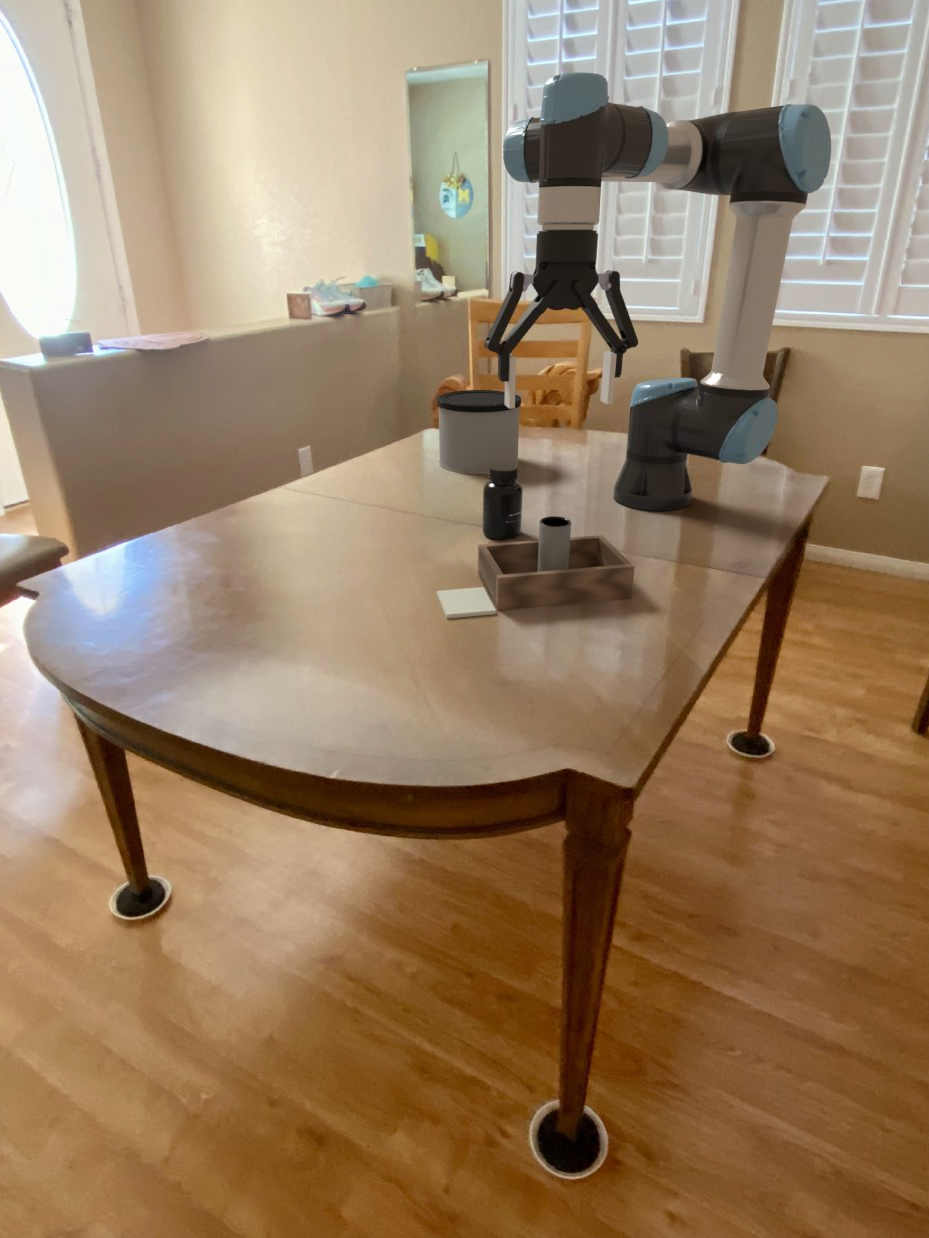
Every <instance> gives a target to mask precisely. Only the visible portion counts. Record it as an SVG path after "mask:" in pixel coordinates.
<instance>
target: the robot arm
mask: <svg viewBox="0 0 929 1238" xmlns="http://www.w3.org/2000/svg"><path fill="white" fill-rule="evenodd" d="M608 87H609V84H608V81H607V78H606V77H604V76H603V75H602V74H599V73H596V72H595V73H594V72H583V71H582V72H567V73H561V74H560V73H559V74H557V75H553V76H551V77H550V78H548V79H547V80H546V82H545V83H544V86H543V88H542V89H543V90H542V99H541V100H542V101H541V109H540V116H539V117H534V116H532V117H529V118H527V119H523V120H518V121H515V122H514V123H513V124H512V125H511V126H510V127H509V128H508V129H507V131H506V132H505V136H504V139H503V142H502V143H503V145H502V148H503V150H502V153H503V155H502V159H503V163H504V164H503V165H504V167H505V169H506V172H507V173H508V175H509V176H510V177H511V179H513V180H514V181H517V182H519V183H530V184H536V183H538V199H537V221H536V222H537V225H539V226H541V230H538V233H536V246H535V247H536V248H535V252H536V253H535V268H534V272H533V273H532V274H529V273H523V272H521V271H517V270H516V271H513V272H511V273H510V277H509V283H508V284H509V285H508V290H507V292H506V294H505V298H504V300H503V302H502V303H501V306H500V307H499V310H498V312H497V314H496V317H495V319H494V321H493V323H492V325H491V327H490V329H489V332H488V334H487V336H486V338H485V340H484V343H483V346H484V348H485V349H487V350H488V351H490V352H492V353H495V354H496V355H497V377H498V380H499V381H500V382H501V383H504V392H505V405H506V406H507V407H508V408H509V409H512V408H515V394H516V381H517V380H516V379H517V378H516V375H517V372H516V371H517V356H515V355H514V354H512V352H513V351H514V349H516V347H517V346H518V344H519V343H520V342H521V341H522V339H523V338H524V337H525V336H526V334H527V333H528V332H529V330H531V328H532V327H533V325H534V324H535V323H536V322H537V321H538V320H539V318H540V317H541V316H542V315H543V314H544V313H546V311H547V310H548V309H549V310H552V311H563V310H565V309H567V310H571V311H578V310H579V309H581V310H582V312H584V313H585V315H586V316H587V318H588V319H589V321H590V322H591V323H592V325H593V326H594V328H595V330H597V332H598V333H599V335H600V336H601V337H602V339H603V341H604V342H605V344H606V345H607V346H608V348H609V349H610V350H609V351H608V350H607V351H606V350H604V351H603V361H602V362H603V363H602V374H601V375H602V376H601V386H600V402H602V403H604V404H605V405H609V406H610V405H613V402H614V392H615V391H614V389H615V379H616V378H620V377H621V376H622V371H623V369H622V368H623V356H624V354H626V353H627V351H628V350H629V349H631V348H636V347H637V346H638V345H639V340H638V336H637V333H636V331H635V327H634V325H633V322H632V319H631V316H630V314H629V311H628V308H627V305H626V302H625V300H624V299H625V298H624V297H623V294H622V291H621V274H620V272H619V271H617V270H609V269H608V270H606V271H605V272H601V273H598V272H597V268H596V264H597V258H598V255H597V254H598V244H599V243H598V241H599V233H597V230H594V229H595V226H596V225H599V223H600V217H601V215H600V214H601V213H600V212H601V194H602V193H601V192H602V182H609V183H610V182H615V183H616V182H617V183H618V182H619V183H621V182H623V183H626V182H627V183H630V182H631V183H656V184H658V185H659V186H660V187H661V188H663V189H665V190H673V191H674V190H677V191H685V192H691V193H699V194H705V195H711V196H713V195H714V196H729V202H728V203H729V204H728V207H729V209H730V210H731V212H732V213H733V214H734V217H735V218H736V219H735V225H734V226H735V227H734V232H733V238H732V244H731V249H730V256H729V262H728V269H727V274H726V280H725V284H724V291H723V299H722V304H721V309H720V316H719V320H718V321H719V322H718V328H717V334H716V339H715V345H714V346H715V347H714V352H713V358H712V359H713V360H712V364H711V369H710V372H709V373H708V374H706V375H705V377H703V378H702V379H701V380H700V382H699V385H698V381H697V379H696V378H692V377H674V378H673V377H671V378H660V379H659V378H658V379H651V380H645V381H641V382H639V383H637V384H635V386H634V388H633V389H632V393H631V394H632V395H631V400H630V404H629V418H628V430H627V431H628V432H627V441H626V442H627V443H626V451H625V453H626V454H625V455H626V456H625V460H624V463H623V465H622V467H621V470H620V472H619V475H618V476H617V478H616V482H615V484H614V487H613V499H614V500H615V501H616V502H618V503H619V504H621V505H623V506H626V507H630V508H633V509H638V510H645V511H673V510H680V509H683V508H686V507H688V506H690V504H691V501H692V496H693V489H692V485H691V479H690V473H689V469H688V463H687V461H688V455H691V456H694V457H695V456H697V457H702V458H706V459H710V460H716V461H718V462H719V461H720V462H721V463H723V464H727V463H730V464H737V465H747V464H749V463H752V462H754V460H755V459H757V458H758V457H759V456H760V455H761V454H762V453H763V451H765V449H766V447H767V446H768V444H769V443H770V441H771V439H772V437H773V435H774V432H775V429H776V426H777V423H778V417H779V412H778V409H779V407H778V404H777V402H776V401H775V400H773V399H772V398H770V397H769V392H770V388H771V387H770V386H771V385H770V384H769V383H768V382H767V380H766V379H765V376H764V370H765V365H766V360H767V355H768V354H767V353H768V350H769V345H770V339H771V334H772V328H773V324H774V319H775V314H776V308H777V302H778V297H779V294H780V293H779V292H780V288H781V287H780V286H781V282H782V276H783V273H784V272H783V271H784V266H785V260H786V256H787V252H788V251H787V250H788V246H789V241H790V235H791V230H792V226H793V225H792V224H793V221H794V219H795V217H797V215H799V214H800V213H801V212H802V211H803V210H805V208H806V205H807V200H808V195H809V194H813V193H815V192H816V191H818V190H819V189H821V187H822V186H823V185H824V181H825V179H826V178H827V176H828V172H829V169H830V165H831V157H832V156H831V155H832V138H831V136H832V135H831V130H830V126H829V122H828V118H827V116H826V114H825V113H824V112H823V110H822V109H821V108H820V107H818V106H817V105H814V104H807V103H806V104H791V103H790V104H789V103H788V104H787V103H786V104H785V105H778V106H771V107H763V108H756V109H749V110H748V109H747V110H740V111H728V112H724V113H719V114H714V115H710V116H705V117H700V118H695V119H690V120H689V119H688V120H686V119H676V120H673V121H671V122H669V123H666V121H665V119H664V118H663V117H662V115H661V114H660V113H658V112H657V111H653V110H651V109H648V108H647V107H644V106H642V105H638V106H634V105H633V106H632V105H626V104H619V103H613V102H609V100H610V96H609V88H608ZM598 284H599V286H600V288H601V290H603V291H604V294H605V297H606V300H607V302H608V305H609V307H610V311H611V314H612V316H613V318H614V323H615V324H616V327H617V330H618V333H619V335H620V336H619V335H618V334H617V332H616V331H615V329H614V328H613V326H612V325H611V324H610V322H609V321H608V319H607V318H606V316H605V315H604V313H603V312H602V311H601V309H600V307H599V304H598V303H597V302H596V300H595V298H594V297H593V296H592V295H591V294H592V293H593V291H594V290H595V288H596V287H597V286H598ZM530 285H532V287H533V289H534V290H535V292H536V293H537V295H536V296H535V297H534V299H532V301H531V302H530V304H529V307H528V308H527V309H526V310H525V312H524V313H523V314H522V315H521V316H520V317H519V319H518V320H517V322H516V323H515V324H514V326H513V327H512V328H511V330H510V331H509V332H508V333H507V335H505V337H504V338H503V336H504V334H505V332H506V330H507V327H508V325H509V323H510V321H511V319H512V317H513V315H514V313H515V311H516V308H517V306H518V304H519V302H520V301H521V298H522V295H523V292H526V291H528V289H529V288H528V287H529V286H530ZM620 337H621V338H620ZM502 338H503V340H502ZM698 386H699V388H698Z"/></svg>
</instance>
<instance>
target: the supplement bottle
mask: <svg viewBox="0 0 929 1238" xmlns="http://www.w3.org/2000/svg"><path fill="white" fill-rule="evenodd" d="M518 470H519V469H518V466H517V467H516V466H513V465H508V464H497V465H493V466H490V474H488V477H489V479H490V480H488V481H487V482H486V483H485V484H484V486H483V492H482V494H483V495H482V534H483V535H484V536H485V537H487V538H490V539H494V540H503V541H504V540H512V539H516V538H517V537H519V536H520V534H521V533H522V530H521V529H522V516H523V515H522V514H523V513H522V512H523V511H522V510H523V490H524V489H523V486H522V484H521V483H520V482H518V481H517V480H518V479H519V478H518V477H519V476H518V474H519V473H518Z"/></svg>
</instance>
